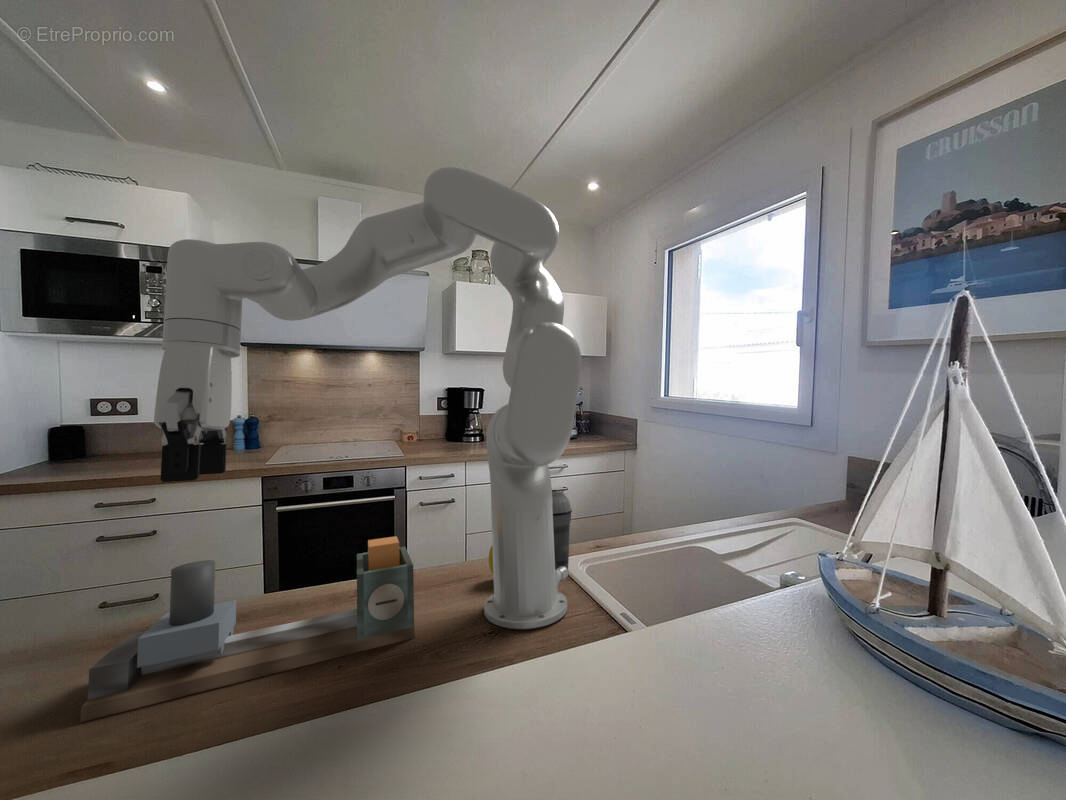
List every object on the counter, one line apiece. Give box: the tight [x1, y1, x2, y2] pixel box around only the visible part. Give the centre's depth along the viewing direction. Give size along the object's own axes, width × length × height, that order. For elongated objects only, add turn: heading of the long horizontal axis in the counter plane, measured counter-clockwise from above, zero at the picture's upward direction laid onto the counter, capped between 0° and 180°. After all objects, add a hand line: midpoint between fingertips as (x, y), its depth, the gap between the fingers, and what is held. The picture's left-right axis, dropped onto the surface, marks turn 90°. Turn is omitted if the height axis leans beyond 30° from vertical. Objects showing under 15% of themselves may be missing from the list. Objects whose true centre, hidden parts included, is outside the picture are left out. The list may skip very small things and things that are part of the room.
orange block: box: [367, 535, 400, 571], centre depth 55 cm, size 4×4×4 cm
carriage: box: [137, 560, 237, 673], centre depth 46 cm, size 7×7×10 cm
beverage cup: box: [552, 489, 573, 570], centre depth 74 cm, size 7×7×20 cm
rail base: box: [80, 546, 415, 723], centre depth 50 cm, size 32×10×10 cm, turn 115°
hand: (196, 477), depth 47 cm, fingers open, 9 cm apart
